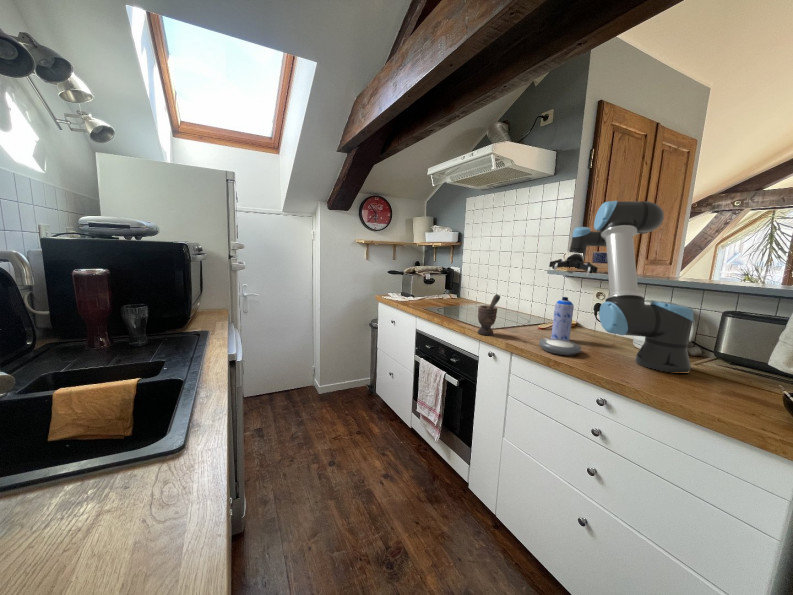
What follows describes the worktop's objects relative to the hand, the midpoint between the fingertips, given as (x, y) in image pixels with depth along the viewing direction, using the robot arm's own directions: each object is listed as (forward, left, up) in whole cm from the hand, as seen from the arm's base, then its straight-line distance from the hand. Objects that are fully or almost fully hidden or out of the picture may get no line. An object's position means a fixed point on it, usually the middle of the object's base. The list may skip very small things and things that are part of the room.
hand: (571, 271), depth 141 cm
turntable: (-15, +20, -30) cm, 39 cm away
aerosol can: (-3, +5, -32) cm, 32 cm away
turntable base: (-15, +20, -32) cm, 40 cm away
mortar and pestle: (+13, +33, -32) cm, 48 cm away
